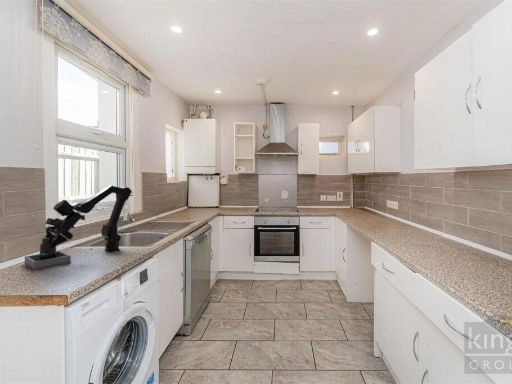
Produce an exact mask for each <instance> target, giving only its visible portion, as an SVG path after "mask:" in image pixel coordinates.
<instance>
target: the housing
mask: <svg viewBox="0 0 512 384" xmlns="http://www.w3.org/2000/svg"><path fill="white" fill-rule="evenodd" d="M71 256H72V255H70V254H69V253H66V252H64V251H61V250H56V258H51V259H46V260H40V253H38V254H32V255H31V254H30V255H25V256H24V265H25V266H26V267H28V268H29V269H31V270H32V271H39V270H44V269H48V268H54V267H55V268H56V267H59V266H64V265H69V264H71V263H72V261H71Z"/></svg>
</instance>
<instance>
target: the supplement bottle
mask: <svg viewBox="0 0 512 384" xmlns="http://www.w3.org/2000/svg"><path fill="white" fill-rule="evenodd" d="M41 239H42V240H41V243H42V242H43V243H42V244H41V243H40V245H39V254H40V260H46V259H51V258H56V251H57V246H55V247H52V248H49V246H50V244H51V243H52V242H53V240H54V237H45V236H44V237H42V238H41Z"/></svg>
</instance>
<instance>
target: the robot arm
mask: <svg viewBox="0 0 512 384" xmlns="http://www.w3.org/2000/svg"><path fill="white" fill-rule="evenodd" d="M112 194H115V203H114V205H113V208H112V211H111V214H110V217H109V219H108V222H107V223H106V224H103V225H102V227H101V229H100V235H101V236H102V237H103V239H104V240H105V243H104V247H105V248H104V251H105V252H109V253H111V252H116V251H120V250H121V248H120V241H121V239H122V236H120V234H118V223H119V219H120V216H121V213H122V211H123V208H124V205H125V203H126V202H127V200H129V198H130V196H131V194H132V190H131V188H130V187H128V186H127V187H126V186H116V185H115V186H114V185H107V186H105V188H103V189H102V190H100V191H98V192H97V193H95V194H94V195H92V196H91V197H90V198H88V199H87V198H86V199H85V200H81V201H79V202H78V203H76V204H74V205H71V204H70V203H69V202H68V201H67V200H66V199H63V200H62V201H60V202H58V203H56V204H55V205H54V206H53V210H54V211H55V212H56V213H57V214H59V215H60V216H62V217H65V218H63V219H61V218H58V217H55V218H50V217H47V219H46V221H45V225H48V226H46V228H45V229H44V232H45V236H44V237H54V240H53V242H52V243H51V244H50V246H49V248H52V247H55V246H56V247H57V246H58V245H61V244H63V243H65V242H68V241H71V240H72V239H73V238H74V234H73V233H71V231H70V230H71V229H75V226H76V224H77V223H78V222H79V221H80V220H81V221H86V215H85V214H89V213H90V212H91V211H92V210H93V209H94V208H95V206H96V205H97V204H98V203H101V201H103V200H105V199H106V198H107V197H109V196H110V195H112ZM42 243H43V242H42V241H41V243H40V244H42Z"/></svg>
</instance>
